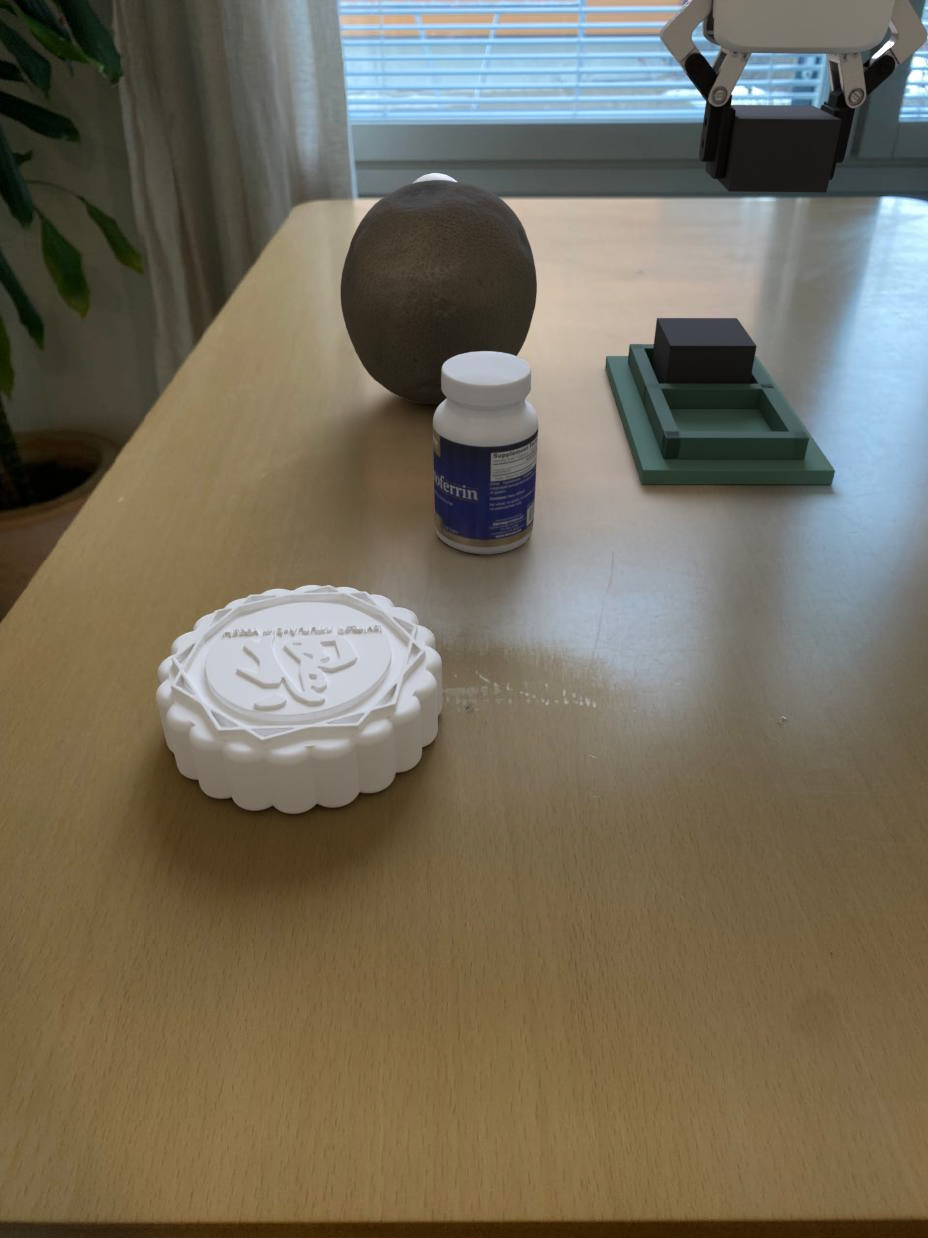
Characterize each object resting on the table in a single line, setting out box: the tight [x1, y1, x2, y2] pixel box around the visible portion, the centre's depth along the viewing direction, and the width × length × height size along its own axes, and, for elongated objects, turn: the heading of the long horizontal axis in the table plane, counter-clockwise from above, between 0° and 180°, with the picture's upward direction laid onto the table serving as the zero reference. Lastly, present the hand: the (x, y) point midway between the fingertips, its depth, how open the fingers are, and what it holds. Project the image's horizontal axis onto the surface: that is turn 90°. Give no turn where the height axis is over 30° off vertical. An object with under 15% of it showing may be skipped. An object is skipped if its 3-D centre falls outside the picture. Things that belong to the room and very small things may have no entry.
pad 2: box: [716, 104, 842, 194], centre depth 59 cm, size 6×6×4 cm
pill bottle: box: [432, 351, 539, 555], centre depth 52 cm, size 6×6×10 cm
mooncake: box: [155, 584, 443, 815], centre depth 41 cm, size 12×12×4 cm
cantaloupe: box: [340, 180, 538, 405], centre depth 66 cm, size 14×14×15 cm
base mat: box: [604, 343, 836, 485], centre depth 67 cm, size 12×20×2 cm, turn 0°
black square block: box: [651, 317, 758, 384], centre depth 69 cm, size 6×6×4 cm
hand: (767, 172), depth 60 cm, fingers closed on pad 2, 6 cm apart
